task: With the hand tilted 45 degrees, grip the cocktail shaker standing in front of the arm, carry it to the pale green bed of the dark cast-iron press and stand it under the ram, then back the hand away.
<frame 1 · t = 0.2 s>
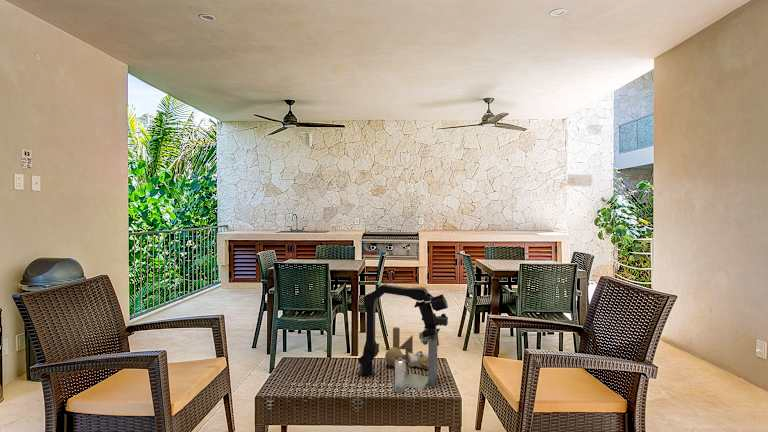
hand: (437, 345, 212), 17 cm above the table, tool tilted 20°, fingers closed, pressing on press
natural sponge: (393, 367, 234), on the table
brown angular piece: (402, 362, 243), on the table
cocktail shaker: (400, 390, 200), on the table
ceramic sculpture: (421, 368, 233), on the table
press: (416, 382, 210), on the table
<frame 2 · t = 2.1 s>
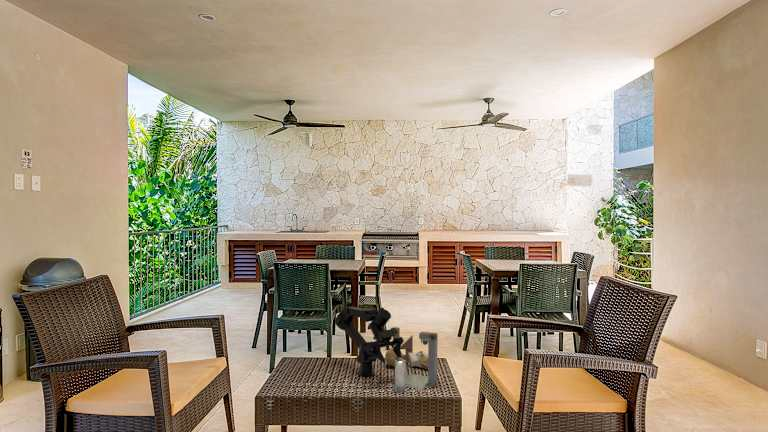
hand: (392, 361, 205), 12 cm above the table, tool tilted 45°, fingers open, 9 cm apart
nothing on the table moved.
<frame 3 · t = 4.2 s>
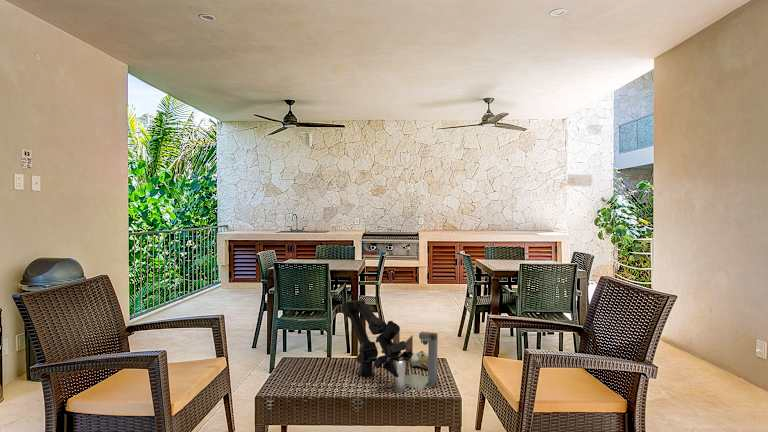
hand: (402, 376, 199), 7 cm above the table, tool tilted 45°, fingers closed on cocktail shaker, 5 cm apart
cocktail shaker: (400, 390, 200), on the table, touching gripper
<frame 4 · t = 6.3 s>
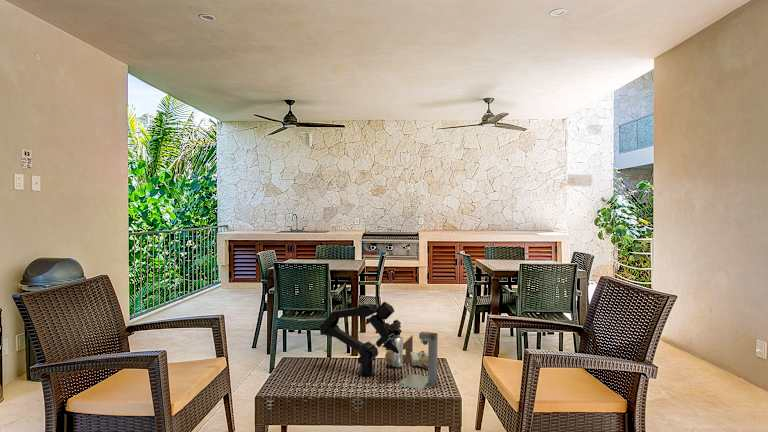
hand: (400, 351, 214), 13 cm above the table, tool tilted 45°, fingers closed on cocktail shaker, 5 cm apart
cocktail shaker: (397, 365, 214), point 7 cm above the table, touching gripper
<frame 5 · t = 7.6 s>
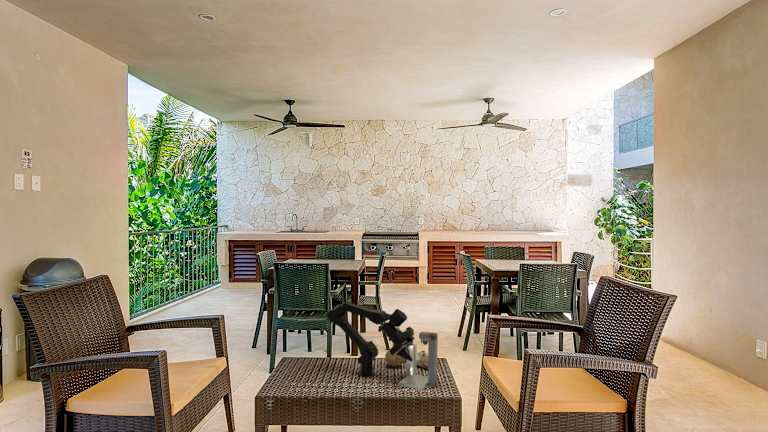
hand: (414, 359, 211), 11 cm above the table, tool tilted 45°, fingers closed on cocktail shaker, 5 cm apart
cocktail shaker: (411, 373, 211), point 4 cm above the table, touching gripper
when the fingers open (9 cm above the table, at t = 8.5 s): cocktail shaker drops 1 cm, resting on press.
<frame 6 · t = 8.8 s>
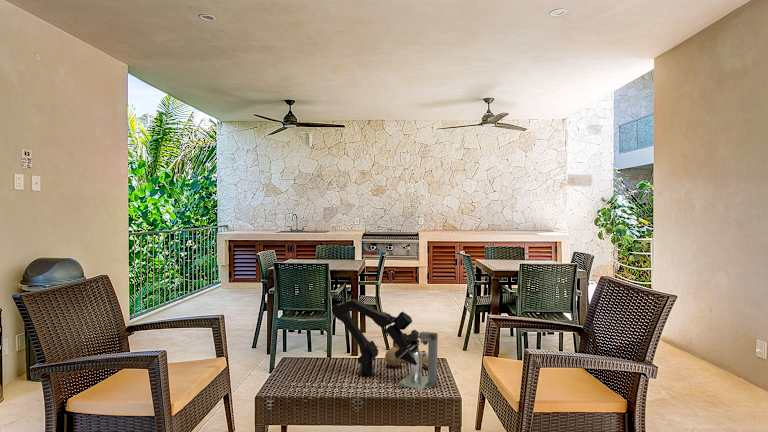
hand: (419, 362, 210), 9 cm above the table, tool tilted 45°, fingers open, 7 cm apart
cocktail shaker: (416, 379, 210), point 1 cm above the table, touching press
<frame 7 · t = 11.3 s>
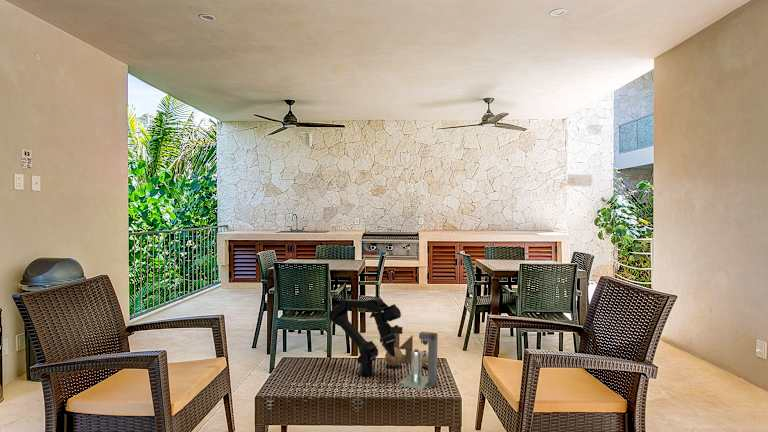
hand: (392, 356, 213), 11 cm above the table, tool tilted 25°, fingers open, 9 cm apart
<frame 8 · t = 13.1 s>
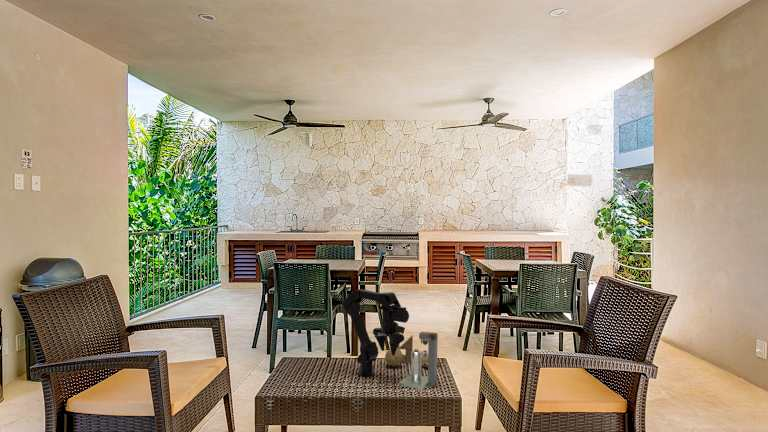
hand: (388, 352, 213), 13 cm above the table, tool pointing down, fingers open, 9 cm apart
at the end: cocktail shaker inside the target area on the press (0.1 cm from its centre), point 1.2 cm above the press's base; cocktail shaker tilted 0°; the gripper is holding nothing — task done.
